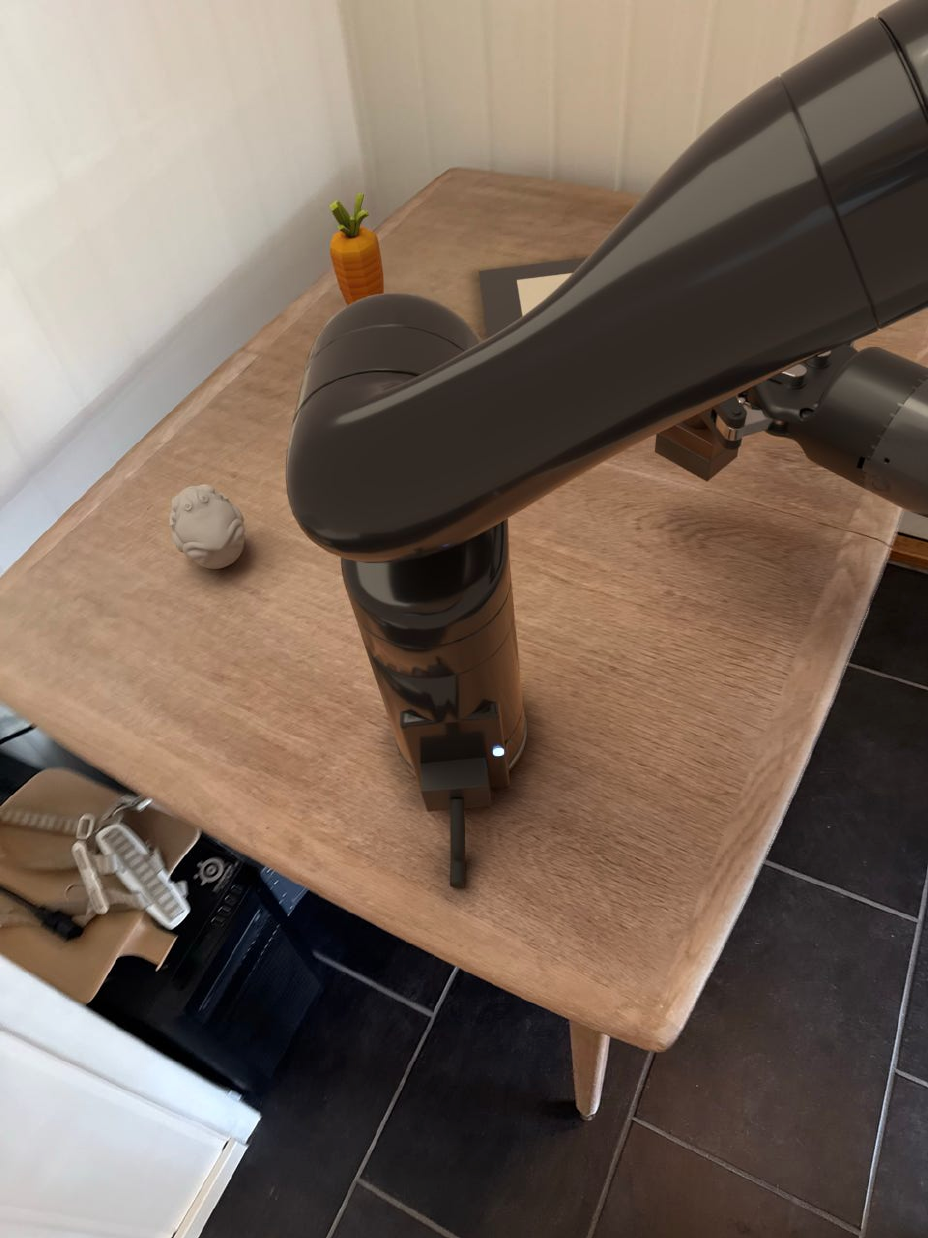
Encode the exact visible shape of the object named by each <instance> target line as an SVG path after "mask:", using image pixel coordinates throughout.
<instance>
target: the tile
mask: <svg viewBox="0 0 928 1238" xmlns="http://www.w3.org/2000/svg"><path fill="white" fill-rule="evenodd" d="M587 257H588V256H586V257H579V258H571V259H564V260H555V261H547V262H539V263H531V264H523V265H515V266H506V267H497V268H491V269H482V270H478V279H479V287H480V296H481V305H482V314H483V322H484V323H483V324H484V330H485V340H486V339H488V338H489V337H491V336H493V335H495V334H497V333H498V332H500V331H501V330H503V329H504V328H506V327H507V326H509V325H511V324H512V323H514V322H515V321H517V320H518V319H520V318H521V317H522V316H524V315H525V314H526V313H528V312H529V311H530V310H532V309H533V308H534V307H536V306H537V305H538V304H539V303H541V302H542V301H543V300H545V299H546V298H547V297H548V296H549V295H550V294H551V293H552V292H553V291H555V290H556V289H557V288H558V287H559V286H560V285H561V284H562V283H563V282H564V281H565V280H566V279H568V278H569V277H570V275H571V274H572V273H573V272H574V271H575V270H576V269H577V268H578V267H579V266H580V265H581V264H582V263H583V262H584V261H585V260H586V258H587Z"/></svg>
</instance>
